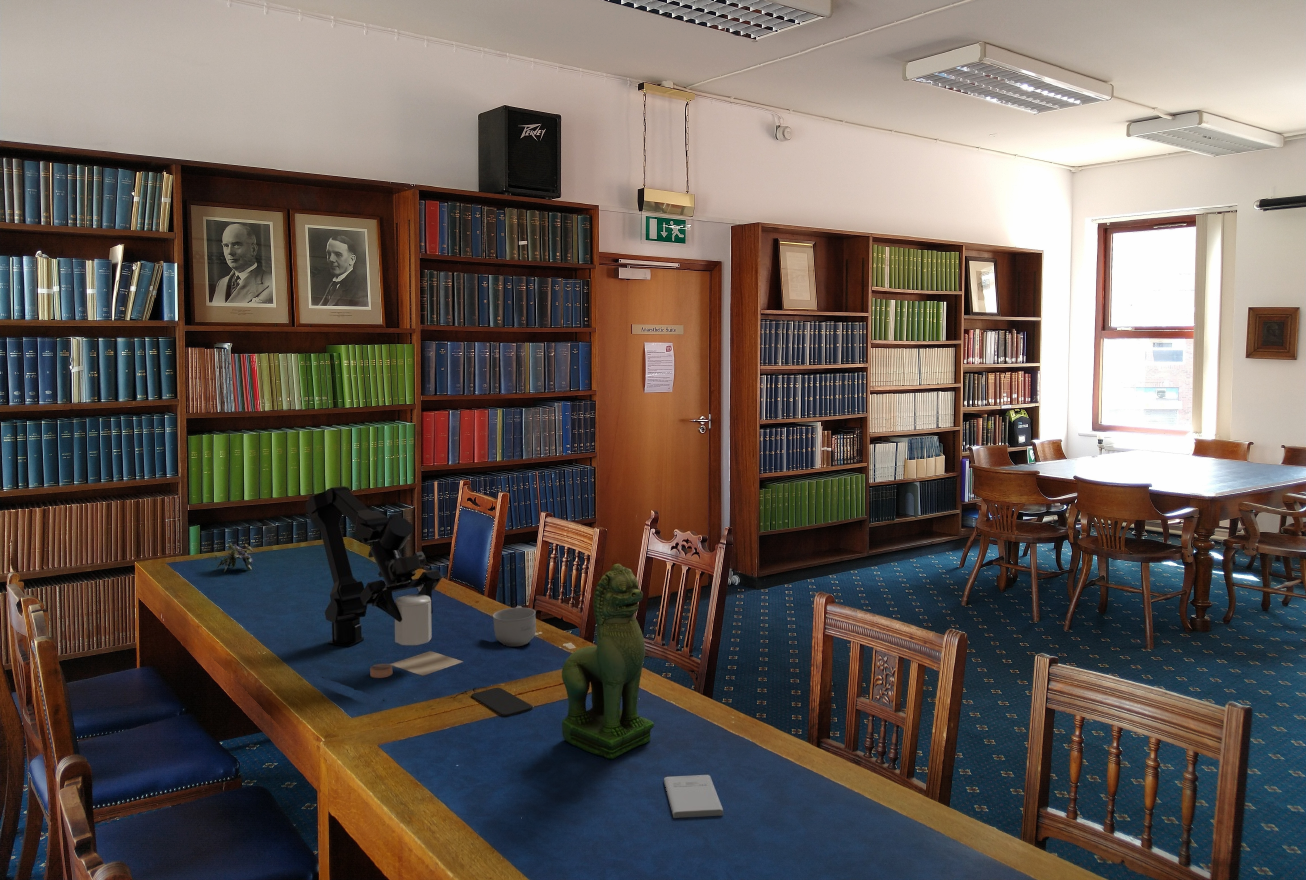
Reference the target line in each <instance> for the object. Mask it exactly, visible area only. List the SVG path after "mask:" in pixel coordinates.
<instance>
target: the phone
mask: <svg viewBox="0 0 1306 880" xmlns="http://www.w3.org/2000/svg"><path fill="white" fill-rule="evenodd" d="M470 696H471V698H472V699H474V700H475V701H477V702H478V703H480V704H481V705H483V706H485V707H486V708H488V709H489V710H491V711H493V712H494V713H495V714H497V715H499V716H501V717H504V718H507V717H512V716H515V715H519V714H522V713H523V714H524V713H526V712H530V711H532V710H533V708H534V706H533V705H532V704H531V703H528V702H527V701H525V700H523V699H521V698H520V697H518V696H516V695H514V694H512V693H510V692H509V691H507V690H506V689H504V688H502V687H494V688H489V689H486V690H481V691H477V692H474V693H471V695H470Z"/></svg>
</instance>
